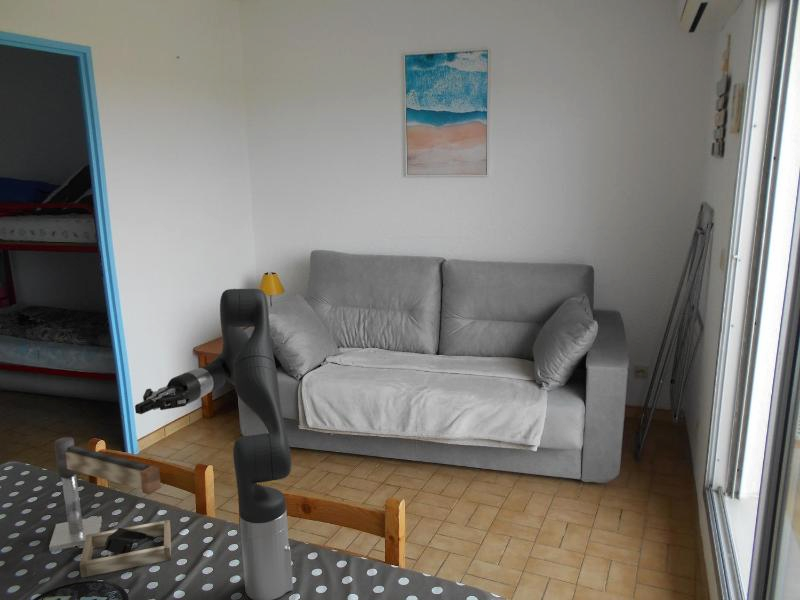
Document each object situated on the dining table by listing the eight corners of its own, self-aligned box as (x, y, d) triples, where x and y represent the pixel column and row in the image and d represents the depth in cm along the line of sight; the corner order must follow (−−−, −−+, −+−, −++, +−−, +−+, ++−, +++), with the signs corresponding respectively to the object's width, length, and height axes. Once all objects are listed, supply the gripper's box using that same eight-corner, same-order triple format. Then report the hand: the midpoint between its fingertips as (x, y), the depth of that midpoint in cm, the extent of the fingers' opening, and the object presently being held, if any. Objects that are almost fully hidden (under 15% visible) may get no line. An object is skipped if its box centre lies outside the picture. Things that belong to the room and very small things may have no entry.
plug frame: (170, 531, 155) (169, 519, 154) (170, 559, 144) (169, 547, 143) (87, 546, 149) (86, 534, 149) (81, 577, 138) (79, 565, 138)
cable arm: (54, 475, 150) (50, 442, 148) (70, 467, 153) (65, 436, 151) (148, 502, 137) (144, 467, 135) (163, 493, 140) (159, 459, 139)
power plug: (162, 536, 151) (124, 530, 141) (150, 570, 149) (110, 567, 139) (145, 531, 154) (106, 524, 144) (133, 564, 151) (92, 560, 141)
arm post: (102, 520, 160) (94, 461, 157) (97, 542, 151) (89, 480, 148) (56, 528, 157) (48, 468, 154) (49, 551, 148) (40, 488, 144)
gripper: (170, 369, 169) (115, 390, 154) (209, 375, 164) (156, 399, 148) (173, 396, 171) (119, 420, 156) (212, 403, 165) (160, 429, 150)
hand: (137, 409), depth 152 cm, fingers closed
